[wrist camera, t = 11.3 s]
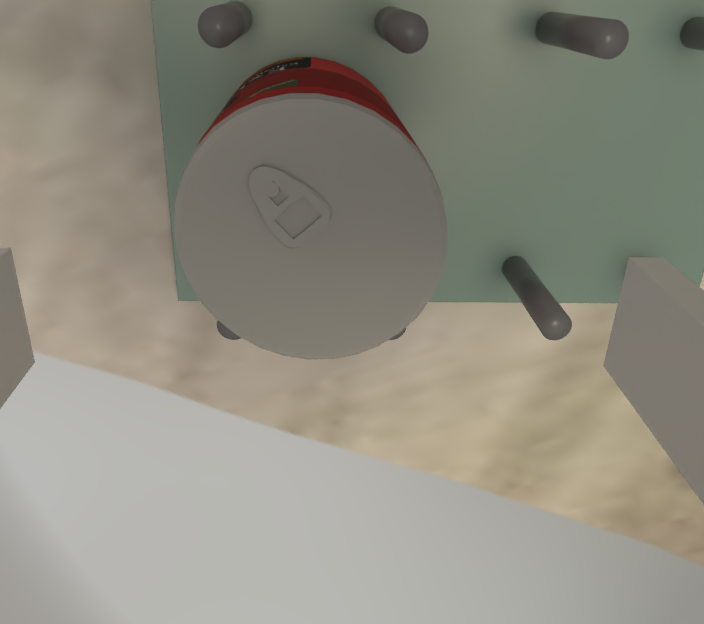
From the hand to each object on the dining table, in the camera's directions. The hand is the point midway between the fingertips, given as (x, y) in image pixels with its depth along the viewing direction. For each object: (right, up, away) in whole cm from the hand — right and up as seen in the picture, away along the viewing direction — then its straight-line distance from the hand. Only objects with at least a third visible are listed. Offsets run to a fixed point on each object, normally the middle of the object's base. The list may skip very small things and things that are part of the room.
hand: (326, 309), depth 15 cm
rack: (+5, +7, +15) cm, 18 cm away
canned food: (-1, +7, +14) cm, 16 cm away
